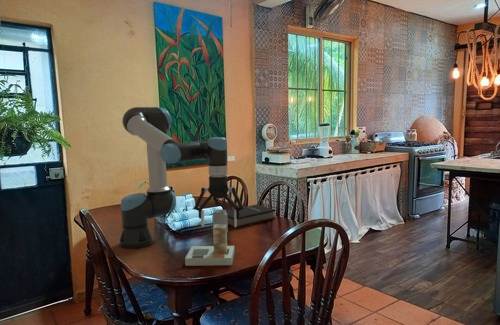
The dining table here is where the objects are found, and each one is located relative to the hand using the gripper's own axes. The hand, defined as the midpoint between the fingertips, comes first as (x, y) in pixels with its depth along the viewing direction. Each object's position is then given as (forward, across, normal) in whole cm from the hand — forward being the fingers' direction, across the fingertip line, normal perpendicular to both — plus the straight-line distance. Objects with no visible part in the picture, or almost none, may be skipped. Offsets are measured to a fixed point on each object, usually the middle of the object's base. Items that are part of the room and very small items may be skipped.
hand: (219, 226), depth 144 cm
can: (+15, -4, +32) cm, 36 cm away
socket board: (+14, -4, 0) cm, 14 cm away
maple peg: (+14, 0, -1) cm, 14 cm away
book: (+15, +8, +57) cm, 59 cm away
